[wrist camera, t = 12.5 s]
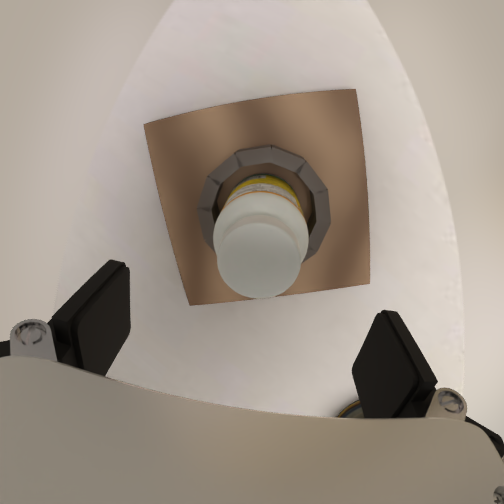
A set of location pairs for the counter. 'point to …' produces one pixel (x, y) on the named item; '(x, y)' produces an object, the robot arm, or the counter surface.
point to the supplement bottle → (261, 237)
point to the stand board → (270, 162)
